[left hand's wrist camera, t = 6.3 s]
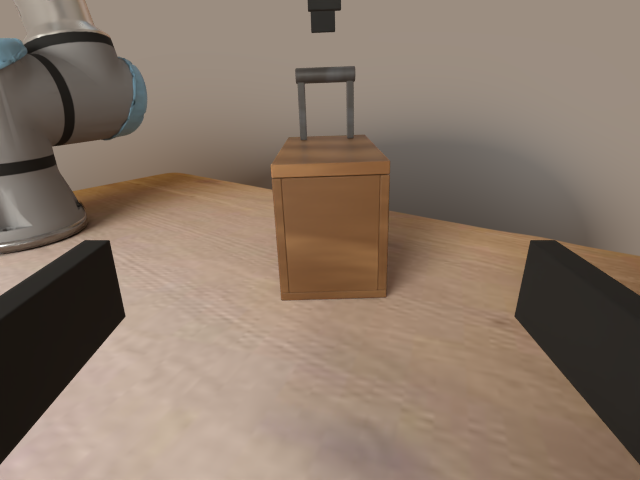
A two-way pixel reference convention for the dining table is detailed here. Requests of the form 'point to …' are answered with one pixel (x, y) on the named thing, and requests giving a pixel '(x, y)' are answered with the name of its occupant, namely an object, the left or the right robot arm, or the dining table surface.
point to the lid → (328, 138)
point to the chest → (332, 236)
